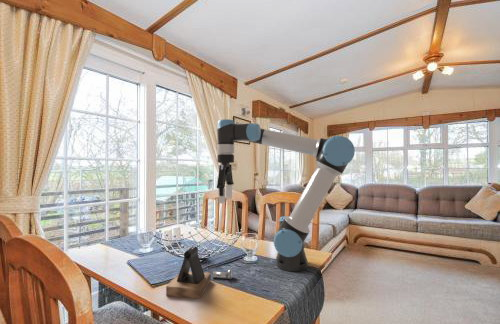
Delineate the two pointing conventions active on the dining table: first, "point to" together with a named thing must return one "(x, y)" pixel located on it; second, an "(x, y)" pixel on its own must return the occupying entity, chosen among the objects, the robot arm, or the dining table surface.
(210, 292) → the dining table surface
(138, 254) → the dining table surface
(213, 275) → the loose bolt
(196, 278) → the phone stand
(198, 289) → the brown flat block
